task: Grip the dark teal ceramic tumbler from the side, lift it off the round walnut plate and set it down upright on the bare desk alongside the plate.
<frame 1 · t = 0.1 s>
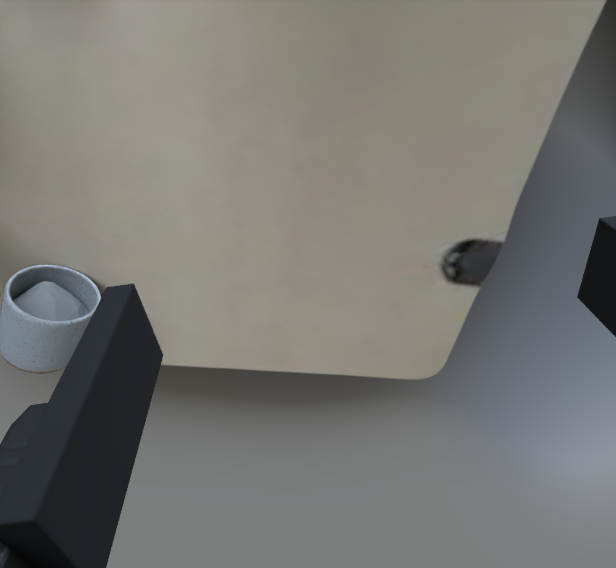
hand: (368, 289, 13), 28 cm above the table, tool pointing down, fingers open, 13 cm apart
ceramic mug: (77, 299, 46), on the table
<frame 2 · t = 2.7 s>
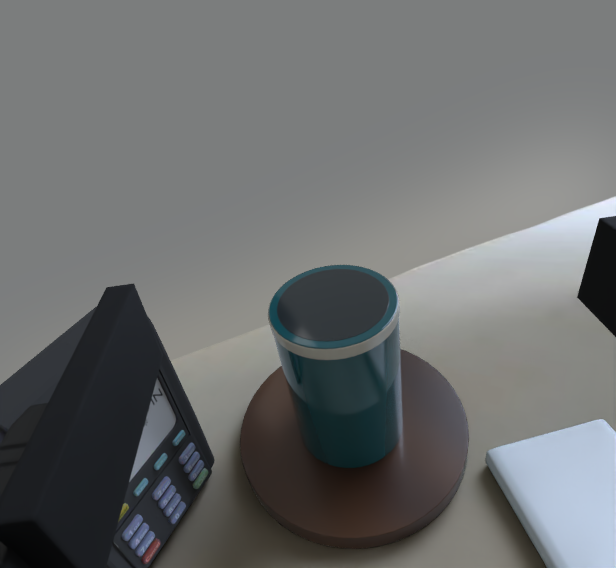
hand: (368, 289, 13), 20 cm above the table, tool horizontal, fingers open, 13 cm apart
plate: (351, 432, 33), on the table
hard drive: (610, 545, 25), on the table
card reader: (163, 517, 30), on the table
tumbler: (350, 420, 32), point 1 cm above the table, touching plate
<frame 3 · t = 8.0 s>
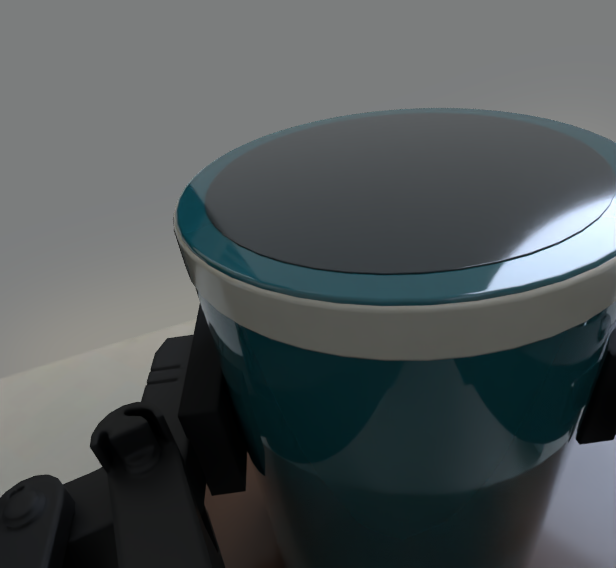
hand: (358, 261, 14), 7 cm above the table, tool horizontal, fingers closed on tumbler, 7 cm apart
plate: (396, 533, 15), on the table
tumbler: (395, 511, 14), point 1 cm above the table, touching gripper, plate
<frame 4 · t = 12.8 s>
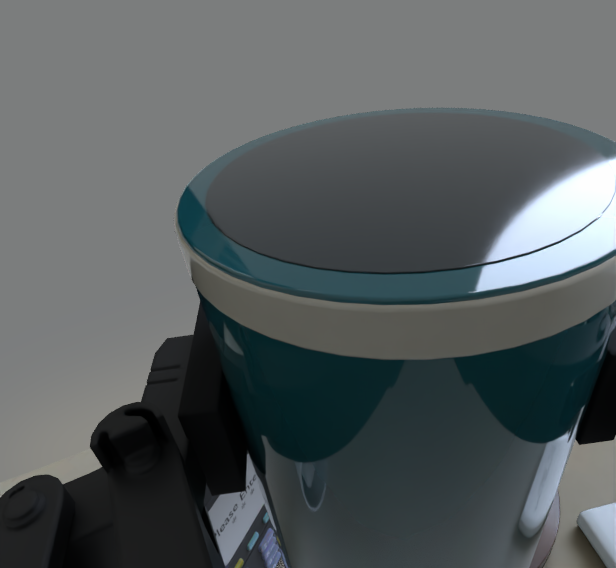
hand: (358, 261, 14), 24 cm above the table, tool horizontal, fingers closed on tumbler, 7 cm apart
plate: (434, 482, 33), on the table
card reader: (254, 564, 30), on the table
tumbler: (396, 510, 14), point 18 cm above the table, touching gripper
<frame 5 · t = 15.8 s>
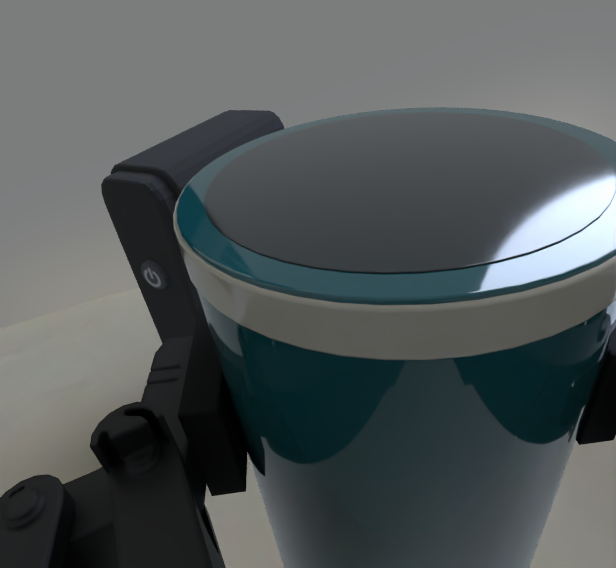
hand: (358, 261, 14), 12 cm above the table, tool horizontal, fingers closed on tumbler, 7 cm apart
card reader: (261, 381, 28), on the table
tumbler: (395, 510, 14), point 6 cm above the table, touching gripper
when the fingers open (6 cm above the table, at t = 17.7 s): tumbler stays where it is, on the table.
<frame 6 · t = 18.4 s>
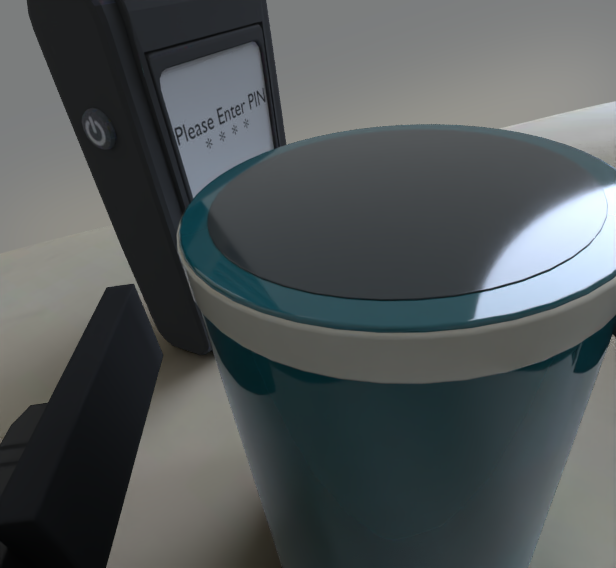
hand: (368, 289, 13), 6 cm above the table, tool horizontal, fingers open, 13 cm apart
card reader: (240, 306, 24), on the table
tumbler: (394, 518, 14), on the table
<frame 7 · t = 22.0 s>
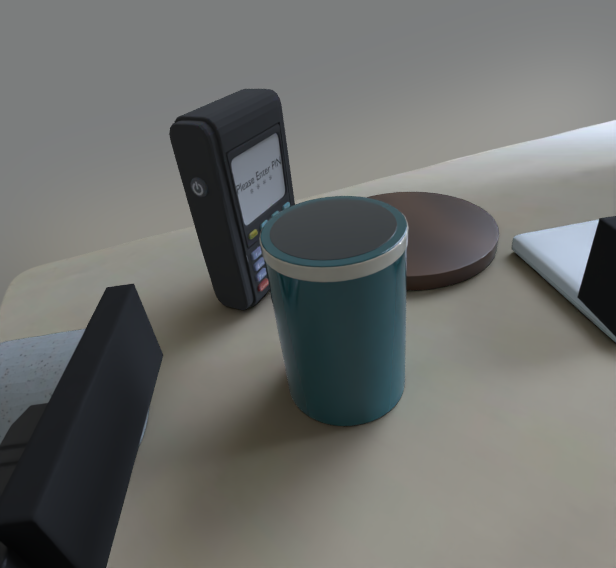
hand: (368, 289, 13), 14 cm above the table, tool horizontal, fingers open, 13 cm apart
plate: (405, 240, 42), on the table
ceramic mug: (75, 465, 26), on the table
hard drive: (604, 283, 34), on the table
card reader: (263, 284, 39), on the table
tumbler: (346, 378, 29), on the table
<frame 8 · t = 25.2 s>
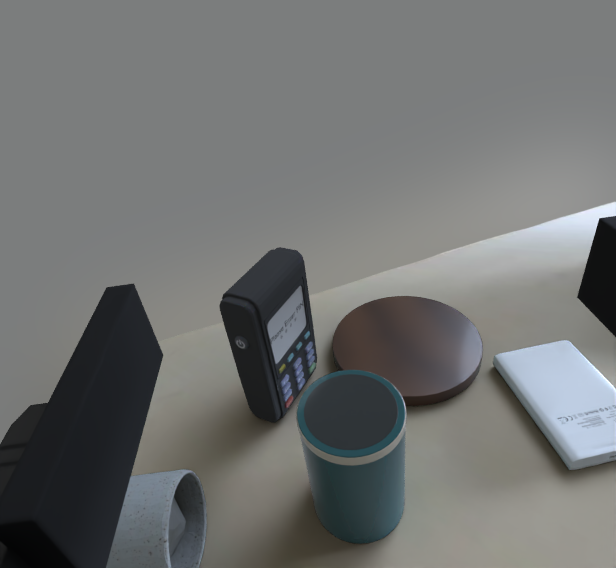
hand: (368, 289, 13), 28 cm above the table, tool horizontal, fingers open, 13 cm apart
plate: (405, 349, 50), on the table
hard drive: (566, 404, 42), on the table
card reader: (287, 392, 47), on the table
tumbler: (358, 496, 37), on the table
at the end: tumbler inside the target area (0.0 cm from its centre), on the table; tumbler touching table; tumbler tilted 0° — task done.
